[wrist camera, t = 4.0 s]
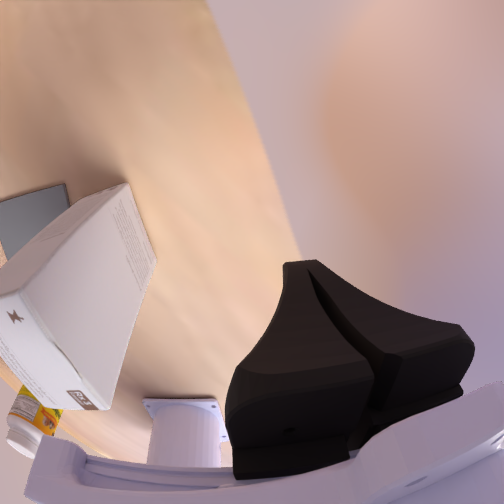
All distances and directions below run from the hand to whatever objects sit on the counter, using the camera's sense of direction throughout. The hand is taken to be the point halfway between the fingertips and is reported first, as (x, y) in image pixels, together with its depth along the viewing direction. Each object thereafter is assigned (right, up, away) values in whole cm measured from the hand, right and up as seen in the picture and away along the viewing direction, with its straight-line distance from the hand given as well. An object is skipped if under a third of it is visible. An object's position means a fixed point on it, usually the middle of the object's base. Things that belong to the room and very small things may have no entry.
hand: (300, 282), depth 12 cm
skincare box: (-11, +3, +7) cm, 13 cm away
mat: (-18, +1, +7) cm, 20 cm away
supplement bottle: (-26, -14, +15) cm, 33 cm away
